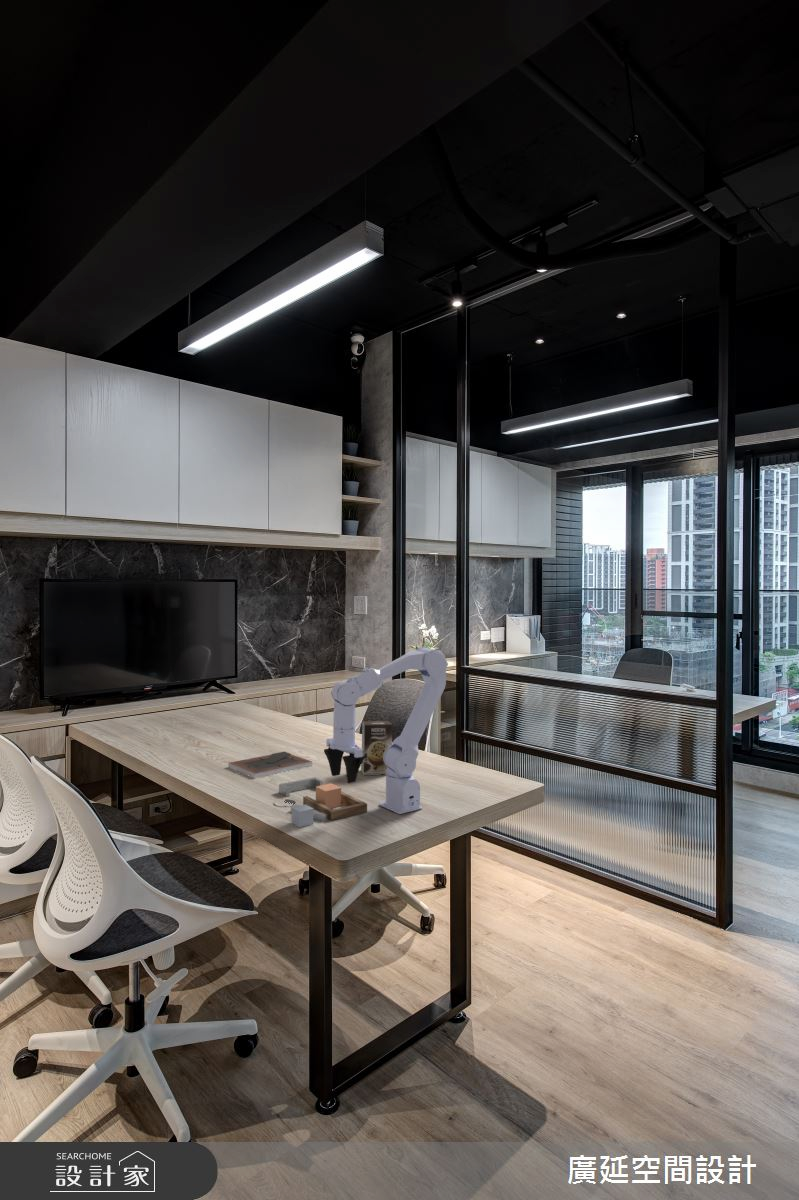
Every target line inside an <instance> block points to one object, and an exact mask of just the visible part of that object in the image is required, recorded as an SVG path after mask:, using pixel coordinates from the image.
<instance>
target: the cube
mask: <svg viewBox="0 0 799 1200" xmlns="http://www.w3.org/2000/svg"><path fill="white" fill-rule="evenodd" d="M341 791H342V787H341V786H337V785H336V784H333V782H332V783H327V784H323V785H321V786H316V787H315V800H316V801H318V802H320V803H321V804H323V805H325V806H327V807H329V808H331V809H334V808H338V807H341V806H342V802H341ZM333 807H334V808H333Z"/></svg>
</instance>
